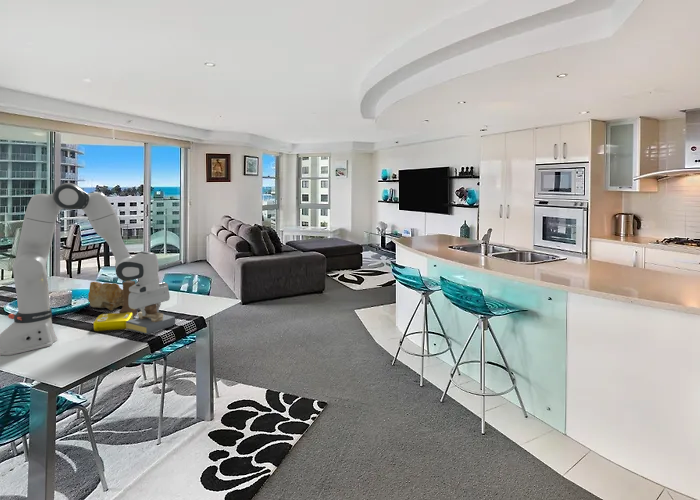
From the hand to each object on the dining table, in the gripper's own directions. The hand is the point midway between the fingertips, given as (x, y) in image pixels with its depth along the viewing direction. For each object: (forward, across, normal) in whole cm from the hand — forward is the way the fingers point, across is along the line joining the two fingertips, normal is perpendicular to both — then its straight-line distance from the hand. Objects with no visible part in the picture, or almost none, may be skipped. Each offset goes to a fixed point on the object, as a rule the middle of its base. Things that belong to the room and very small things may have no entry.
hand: (150, 313), depth 211 cm
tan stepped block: (+2, 0, 0) cm, 3 cm away
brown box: (-1, 0, 0) cm, 1 cm away
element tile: (+7, +7, -18) cm, 20 cm away
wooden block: (+7, -5, -24) cm, 25 cm away
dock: (+7, 0, 0) cm, 7 cm away
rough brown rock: (+7, -12, -48) cm, 50 cm away
